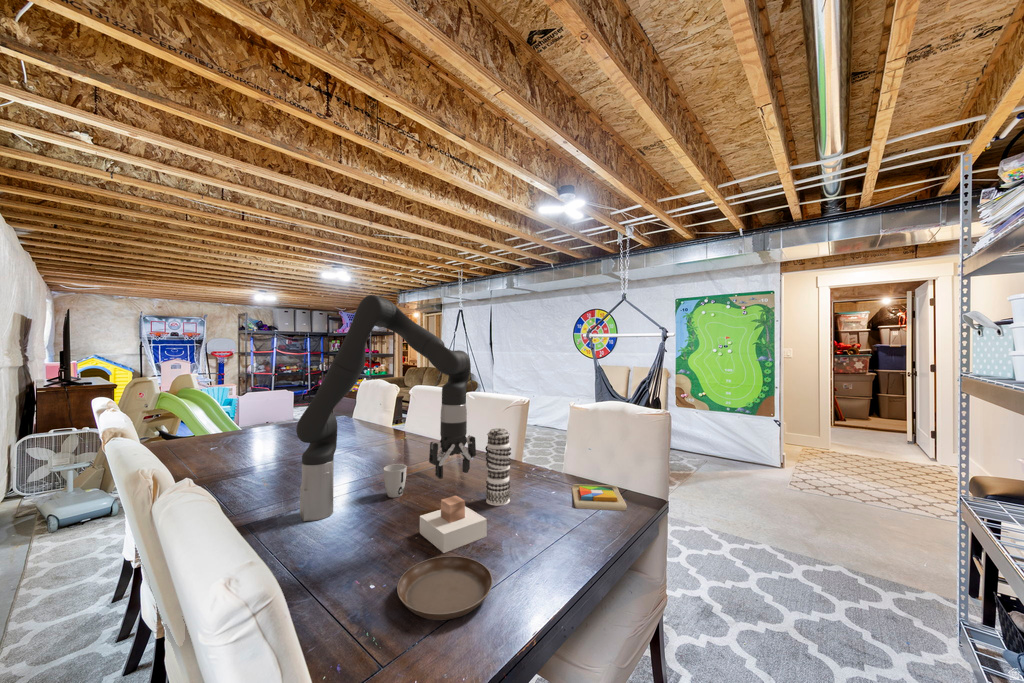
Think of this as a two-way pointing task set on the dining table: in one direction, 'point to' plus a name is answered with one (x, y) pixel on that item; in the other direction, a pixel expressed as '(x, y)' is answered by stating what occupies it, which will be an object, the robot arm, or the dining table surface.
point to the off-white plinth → (452, 529)
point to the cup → (395, 479)
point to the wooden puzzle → (598, 497)
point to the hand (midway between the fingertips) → (453, 475)
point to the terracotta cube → (452, 509)
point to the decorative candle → (498, 467)
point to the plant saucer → (444, 587)
